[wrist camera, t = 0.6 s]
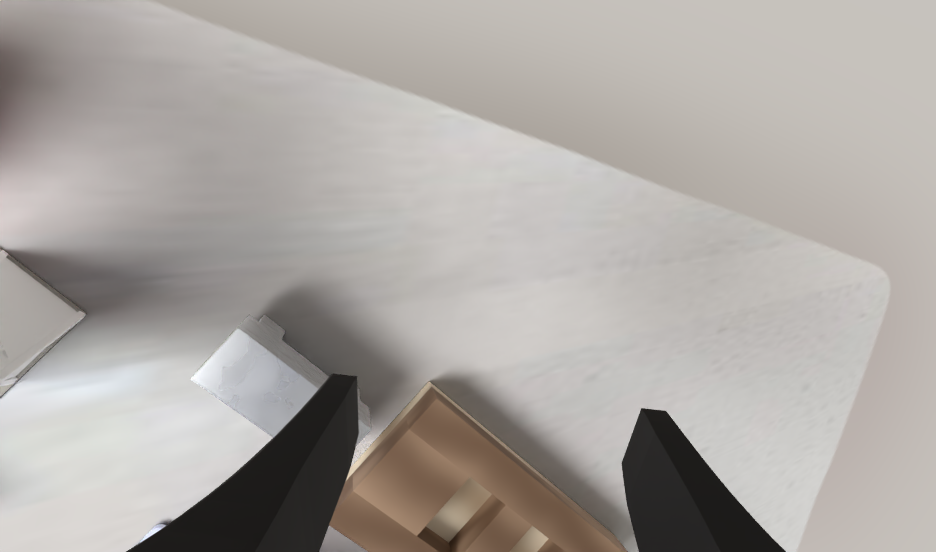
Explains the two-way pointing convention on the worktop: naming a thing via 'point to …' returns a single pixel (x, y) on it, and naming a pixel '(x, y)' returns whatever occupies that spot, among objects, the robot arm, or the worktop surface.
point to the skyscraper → (29, 319)
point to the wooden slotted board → (456, 491)
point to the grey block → (265, 377)
